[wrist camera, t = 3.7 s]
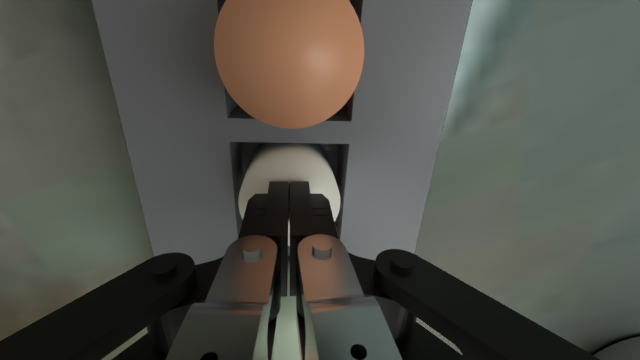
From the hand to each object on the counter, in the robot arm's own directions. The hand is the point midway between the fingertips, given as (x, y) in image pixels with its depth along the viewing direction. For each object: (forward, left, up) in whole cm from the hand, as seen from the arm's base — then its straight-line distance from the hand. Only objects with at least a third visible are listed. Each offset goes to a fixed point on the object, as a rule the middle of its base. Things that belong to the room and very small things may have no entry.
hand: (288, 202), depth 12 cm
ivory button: (0, 0, -3) cm, 3 cm away
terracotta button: (0, -5, -2) cm, 6 cm away
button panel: (0, 0, -4) cm, 4 cm away
